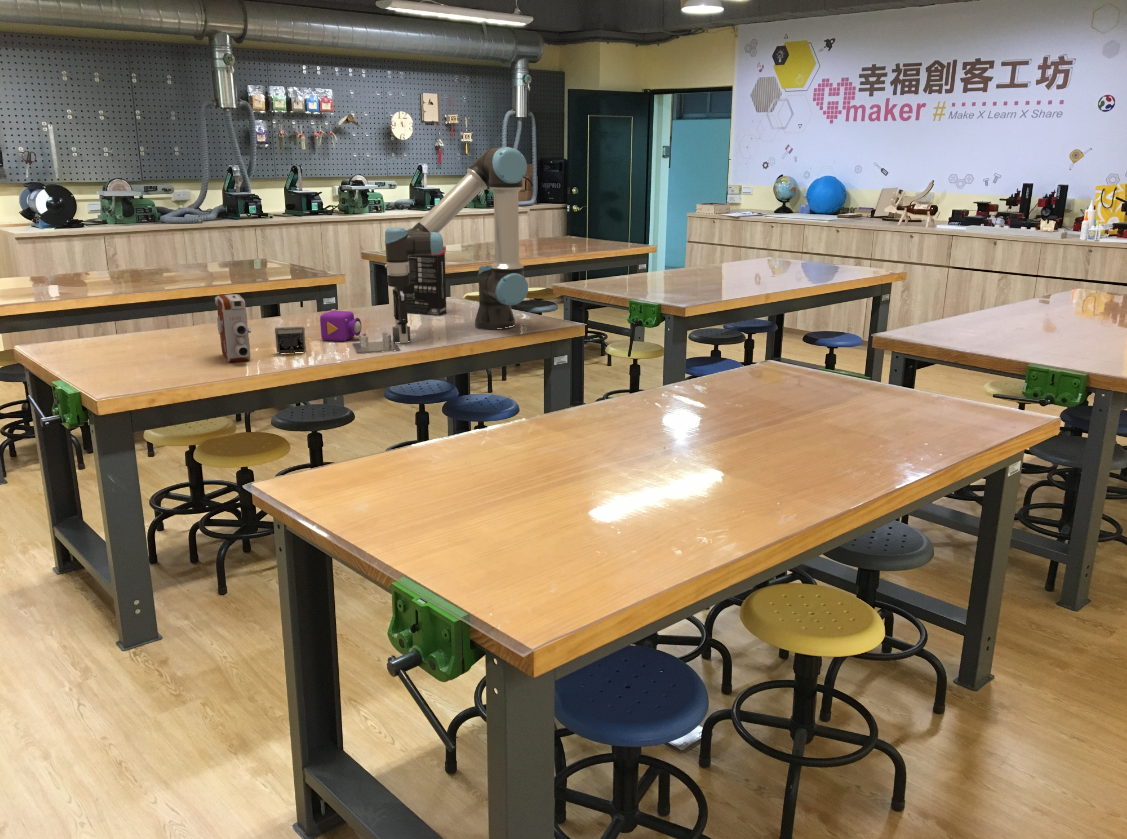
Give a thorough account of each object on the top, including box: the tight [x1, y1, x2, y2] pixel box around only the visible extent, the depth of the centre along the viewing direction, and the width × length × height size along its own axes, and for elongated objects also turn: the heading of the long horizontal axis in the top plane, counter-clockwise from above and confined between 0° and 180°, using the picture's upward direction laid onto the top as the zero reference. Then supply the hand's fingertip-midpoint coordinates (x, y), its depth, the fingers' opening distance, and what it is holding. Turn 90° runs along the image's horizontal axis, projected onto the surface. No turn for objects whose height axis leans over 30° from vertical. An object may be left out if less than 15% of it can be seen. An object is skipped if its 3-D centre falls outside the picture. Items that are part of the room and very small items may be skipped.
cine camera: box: [214, 293, 252, 363], centre depth 284 cm, size 9×19×20 cm, turn 27°
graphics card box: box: [404, 246, 447, 316], centre depth 363 cm, size 17×7×27 cm, turn 69°
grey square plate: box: [351, 331, 401, 354], centre depth 303 cm, size 14×14×5 cm
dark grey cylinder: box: [391, 325, 411, 342], centre depth 313 cm, size 6×6×5 cm
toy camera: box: [319, 308, 362, 342], centre depth 316 cm, size 11×14×10 cm
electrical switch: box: [274, 325, 307, 355], centre depth 294 cm, size 9×5×9 cm, turn 107°
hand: (402, 340), depth 314 cm, fingers open, 7 cm apart
